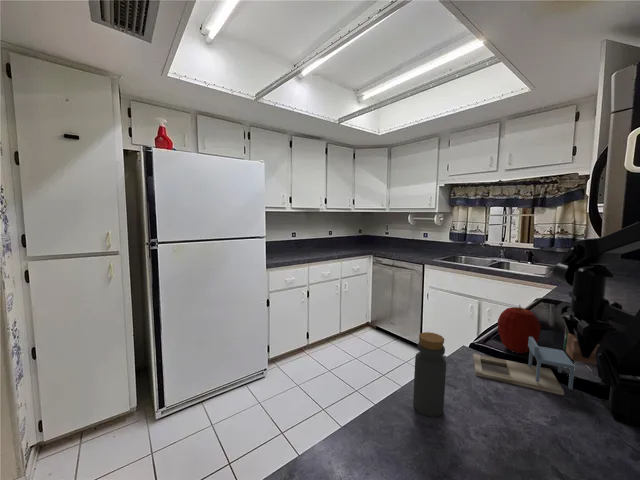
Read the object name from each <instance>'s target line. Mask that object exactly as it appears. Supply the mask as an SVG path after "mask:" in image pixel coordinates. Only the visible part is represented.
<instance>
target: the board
mask: <svg viewBox="0 0 640 480" xmlns="http://www.w3.org/2000/svg"><path fill="white" fill-rule="evenodd" d="M472 354H473V355H472V356H473V363H474V365H473V366H474V372H475V373H474V374H475V376H478V377H480V378H486V379H490V380H494V381H500V382H502V383H508V384H511V385H517V386H521V387H525V388H531V389H534V390H537V391H539V390H540V391H542V392H543V391H544V392H548V393H551V394H556V395H561V396H565V391H564V389H563V387H562V386H561V384H560V382H559V381H558V379H557V377H556V375H555V374H554V372H553V371H552V369H551V368H548V367H547V368H546V367H541V370H540V380H539V382H536V381H535V379H536V369H537V365H533V364H532V367H529V366H528V364H527V363H521V362H518V361H513V360H507V359H502V358H497V357H494V356H493V357H492V356H489V355H488V356H487V355H483V354H477V353H472Z"/></svg>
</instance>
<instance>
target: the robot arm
mask: <svg viewBox="0 0 640 480" xmlns="http://www.w3.org/2000/svg"><path fill="white" fill-rule="evenodd" d="M639 249H640V220H639V221H637V222H635V223H633V224H630V225H628V226H626V227H624V228H621V229H618V230H616V231H613V232H611V233H609V234H606V235H603V236H600V237H592V238H583V239H577V240H575V241H574V242H572V244H571V246H570V247H569V248H568V250H567V252H566V253H565V254H564V255H563V257H561V262H559V263H557V264H555V265H554V267H553V269H552V275H553V277H554V279H555V280H557V281H559V282H561V283H564V284H566V285H569V286H572V288H571V289H572V291H569V292H568V296H569V297H570V298H571V300H570V302H563V301H562V302H560V303H559V304H557V310H556V312H557V313H558V314H559V315H561V319H562V321H563V323H564V326H565V328H567V331H568V333H569V334H575V336H576V339H577V342H578V345H579V348H580V351H581V354H582V357H584V358H589V357H590V355H591V354H592V352H593V350H594V349H595V347H596V346H597V344H599V347H598V349H597V351H596V362H597V365H596V368H597V369H596V370H597V374H598V378H600V381H601V382H602V384H604V385H607V386H609V388H610V389H609V396H608V400H607V399H603V398H600V403H601V405H602V406H603V407H604V409H605V410H606V411H607V413H608V414H609V415H610V417H611V418H612V419H613V420H614V421H615V422H619V423H622V424H627V425H631V426H635V427H639V428H640V308H639V310H638V311H637V312H636V314H635V315H634V314H633V313H632V312H629V311H627V310H626V309H623V305H622V304H620V303H619V302H616V301H614V300H610V301H609V300H608V299H606V298H605V296H606V284H607V278H609V279H610V278H613V277H614V274H613V272H611V271H610V270H609V269H608V268H607V266H609V265H612V264H613V263H615V262H618V261H619V260H620V259H621V255H623V254H626V253H630V252H633V251H636V250H639ZM564 314H565V316H563V315H564ZM609 321H610V322H614V323H616V324H618V325H620V326H623V327H624V328H625V330H624V331H619V330H618V329H617V328H616V327H614V325H611V324H610V323H609ZM627 376H629V377H627ZM635 377H637V378H635Z"/></svg>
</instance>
